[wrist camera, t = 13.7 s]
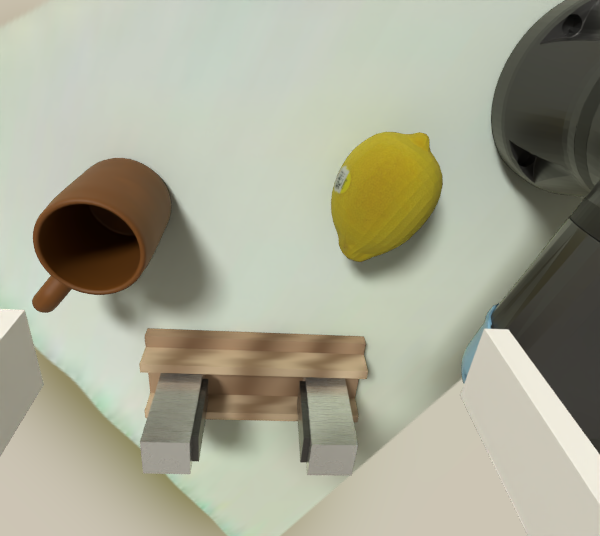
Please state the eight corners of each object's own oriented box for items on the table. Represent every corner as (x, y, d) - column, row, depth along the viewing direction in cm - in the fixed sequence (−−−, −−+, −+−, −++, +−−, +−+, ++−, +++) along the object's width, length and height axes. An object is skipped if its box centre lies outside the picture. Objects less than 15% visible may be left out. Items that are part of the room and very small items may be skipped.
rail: (363, 336, 47) (370, 360, 44) (350, 405, 52) (355, 431, 49) (147, 328, 45) (138, 352, 42) (154, 400, 50) (146, 427, 47)
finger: (342, 365, 48) (358, 445, 39) (337, 393, 50) (351, 475, 41) (298, 364, 47) (304, 444, 39) (295, 392, 49) (300, 474, 41)
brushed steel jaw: (210, 361, 46) (196, 443, 38) (210, 390, 48) (197, 474, 40) (164, 359, 46) (140, 441, 37) (166, 388, 48) (143, 473, 39)
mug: (112, 284, 43) (74, 350, 35) (37, 234, 40) (-24, 293, 32) (192, 197, 39) (170, 248, 31) (114, 135, 36) (68, 172, 28)
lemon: (380, 95, 36) (407, 117, 29) (449, 154, 38) (488, 187, 31) (297, 201, 40) (303, 242, 33) (364, 247, 42) (382, 294, 35)
